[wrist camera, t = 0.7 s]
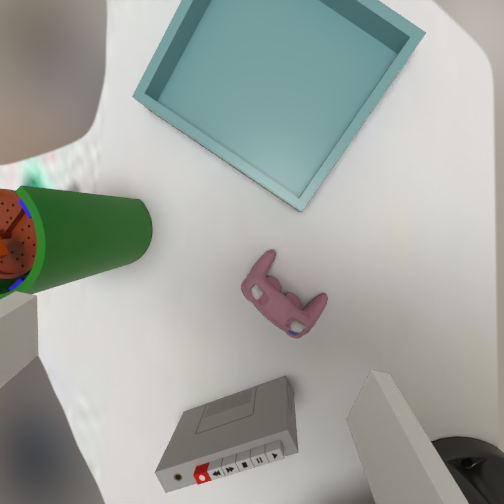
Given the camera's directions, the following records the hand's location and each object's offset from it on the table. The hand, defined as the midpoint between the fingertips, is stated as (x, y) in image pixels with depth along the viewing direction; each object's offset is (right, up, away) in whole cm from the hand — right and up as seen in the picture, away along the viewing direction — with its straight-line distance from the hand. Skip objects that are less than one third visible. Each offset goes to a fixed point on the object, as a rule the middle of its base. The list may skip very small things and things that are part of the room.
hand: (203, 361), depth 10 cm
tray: (+4, +24, +20) cm, 31 cm away
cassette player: (0, -16, +26) cm, 31 cm away
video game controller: (+6, 0, +23) cm, 24 cm away
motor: (-16, +7, +24) cm, 30 cm away
